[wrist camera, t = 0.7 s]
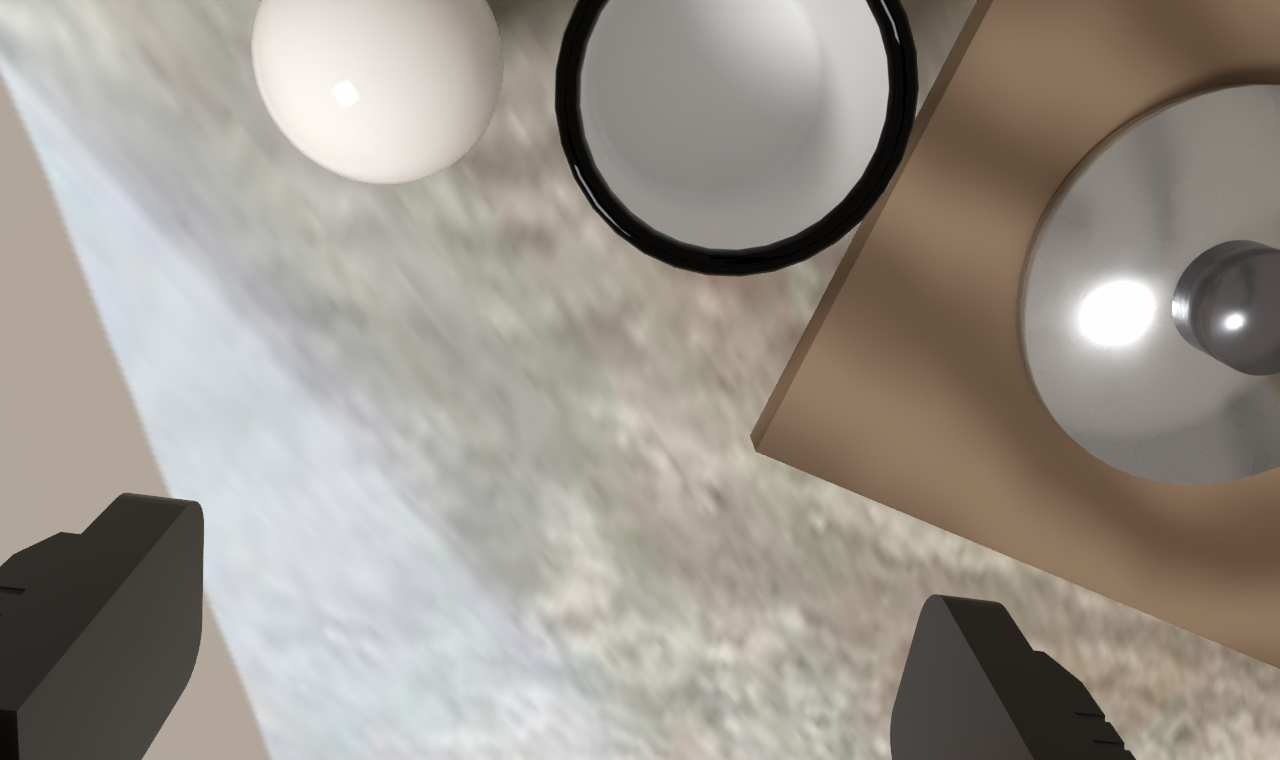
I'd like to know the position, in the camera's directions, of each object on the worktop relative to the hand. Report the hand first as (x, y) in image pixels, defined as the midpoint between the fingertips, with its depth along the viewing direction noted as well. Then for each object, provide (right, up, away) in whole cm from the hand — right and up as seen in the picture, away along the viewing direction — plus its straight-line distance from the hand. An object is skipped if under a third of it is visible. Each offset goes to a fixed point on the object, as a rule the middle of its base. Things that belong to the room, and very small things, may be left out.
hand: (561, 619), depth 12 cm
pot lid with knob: (+23, +7, +25) cm, 35 cm away
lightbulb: (-6, +14, +23) cm, 28 cm away
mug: (+3, +14, +24) cm, 28 cm away
